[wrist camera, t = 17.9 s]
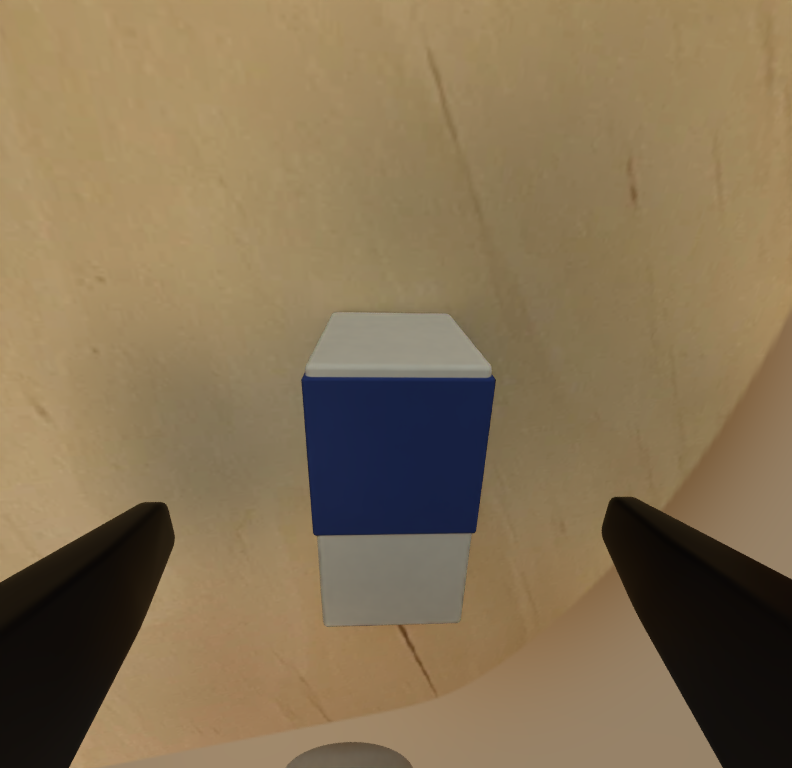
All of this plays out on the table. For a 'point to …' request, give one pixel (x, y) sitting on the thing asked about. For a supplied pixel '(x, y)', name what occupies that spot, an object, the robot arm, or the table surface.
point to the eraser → (395, 464)
